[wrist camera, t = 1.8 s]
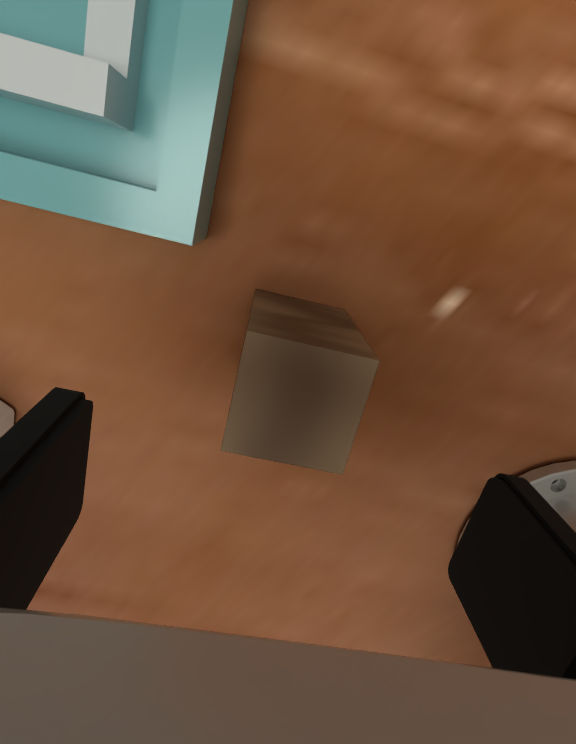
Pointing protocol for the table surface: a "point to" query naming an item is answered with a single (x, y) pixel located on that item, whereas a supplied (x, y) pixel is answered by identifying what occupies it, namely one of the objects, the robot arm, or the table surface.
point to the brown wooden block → (299, 384)
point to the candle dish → (165, 125)
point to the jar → (6, 418)
